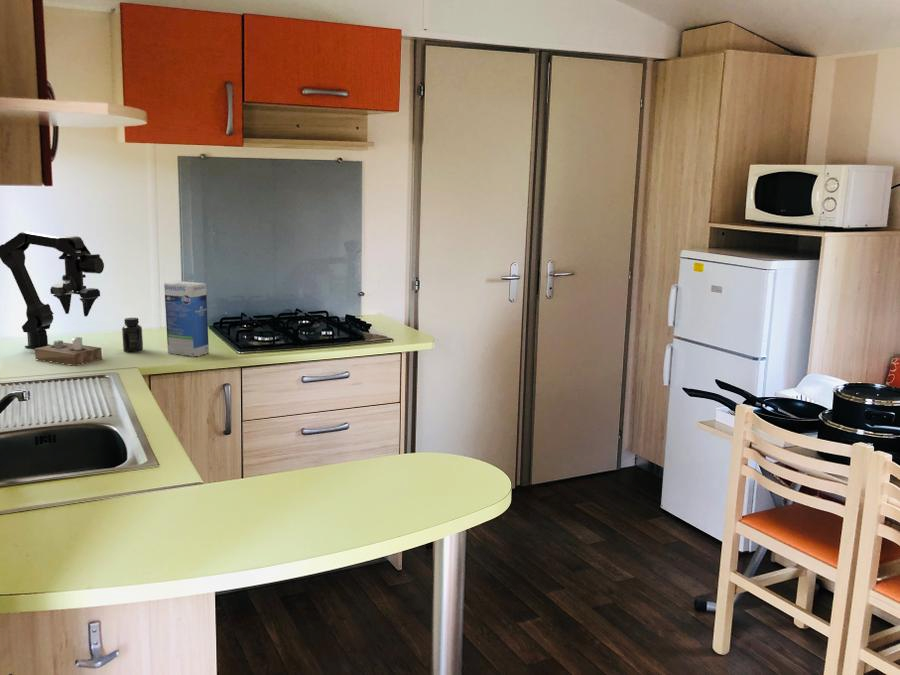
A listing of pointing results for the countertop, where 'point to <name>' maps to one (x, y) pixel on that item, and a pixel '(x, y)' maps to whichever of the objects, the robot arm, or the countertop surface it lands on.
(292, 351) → the countertop surface
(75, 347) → the steel pin
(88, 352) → the hole block
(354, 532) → the countertop surface
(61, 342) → the short grey peg
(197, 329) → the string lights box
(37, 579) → the countertop surface
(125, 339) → the supplement bottle
